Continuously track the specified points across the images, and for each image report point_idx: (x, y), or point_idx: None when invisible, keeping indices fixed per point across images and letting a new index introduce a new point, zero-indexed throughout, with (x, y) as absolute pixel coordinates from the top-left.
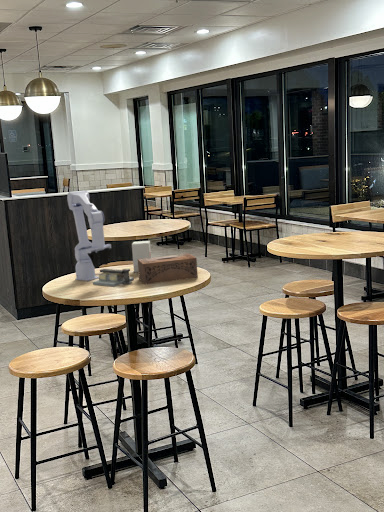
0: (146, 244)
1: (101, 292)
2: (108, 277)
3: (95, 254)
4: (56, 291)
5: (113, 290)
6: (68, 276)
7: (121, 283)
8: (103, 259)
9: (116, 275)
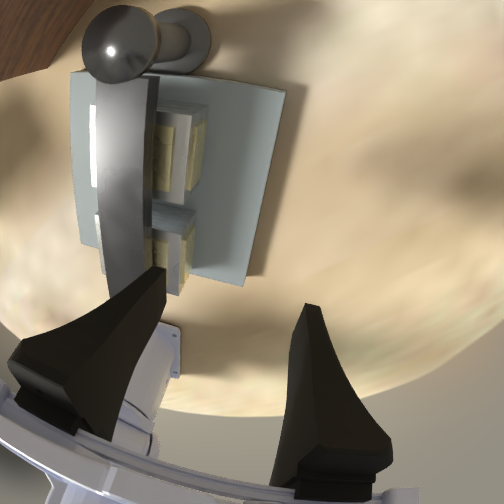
0: None
1: (477, 108)
2: (168, 216)
3: (389, 445)
4: (407, 361)
5: (418, 36)
6: None
7: (199, 77)
8: (143, 338)
9: (184, 124)
